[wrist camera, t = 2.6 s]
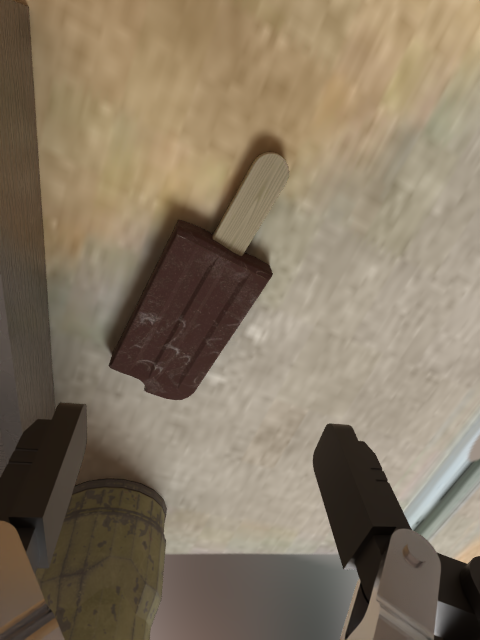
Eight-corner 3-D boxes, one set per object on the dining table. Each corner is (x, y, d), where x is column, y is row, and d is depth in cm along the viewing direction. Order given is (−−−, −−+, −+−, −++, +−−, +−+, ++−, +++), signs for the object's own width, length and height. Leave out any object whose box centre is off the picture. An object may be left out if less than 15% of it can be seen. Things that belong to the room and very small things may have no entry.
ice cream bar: (226, 120, 16) (108, 361, 23) (229, 124, 15) (102, 379, 21) (322, 181, 18) (186, 388, 25) (332, 189, 17) (185, 407, 23)
